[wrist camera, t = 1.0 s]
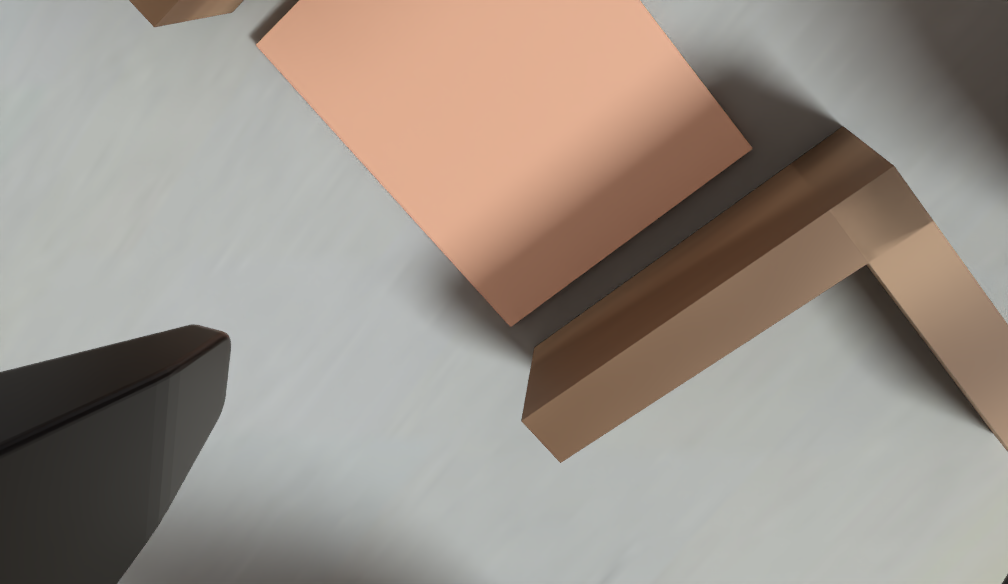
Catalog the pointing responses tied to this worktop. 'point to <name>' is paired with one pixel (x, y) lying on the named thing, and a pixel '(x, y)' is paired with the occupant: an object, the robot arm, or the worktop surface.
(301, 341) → the worktop surface
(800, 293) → the bent channel
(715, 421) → the worktop surface
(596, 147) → the pad
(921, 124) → the worktop surface
